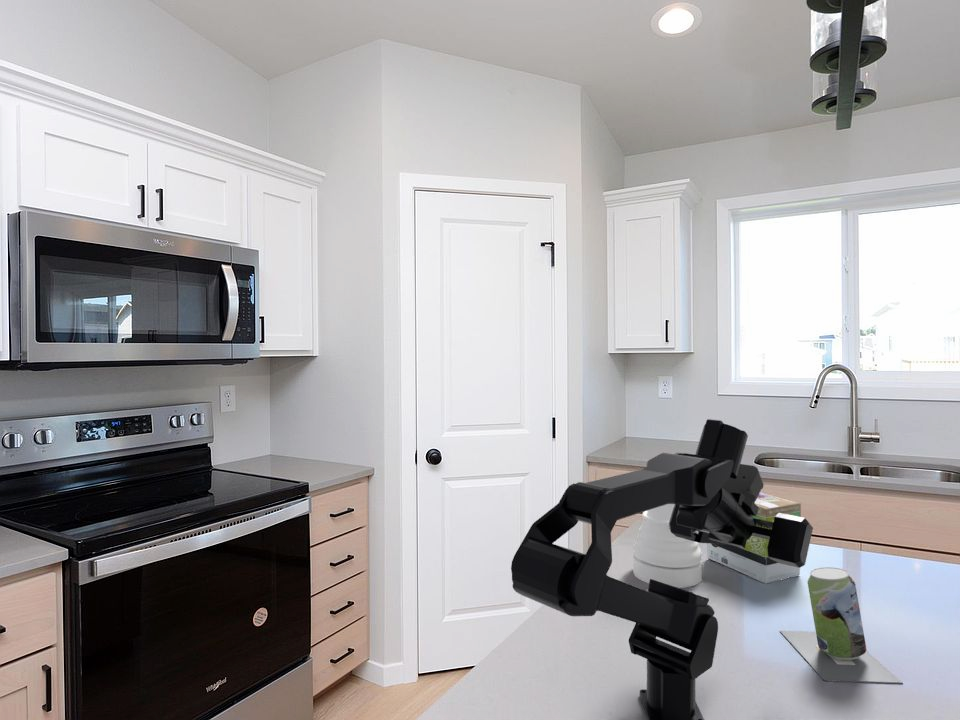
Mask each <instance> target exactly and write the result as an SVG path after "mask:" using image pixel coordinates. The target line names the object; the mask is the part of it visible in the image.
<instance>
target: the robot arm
mask: <svg viewBox="0 0 960 720" xmlns="http://www.w3.org/2000/svg"><path fill="white" fill-rule="evenodd" d="M748 437H749V435H748V433H747V432H746V431H745V430H741V429H740V428H737V427H736V426H733V425H731V424H726V423H724V422H723V421H722V420H720V419H712V418H711V419H710V418H707V419H706V421H705V424H704V425H703V428H702V431H701V435H700V438H699V441H698V445H697V449H696V451H695V454H692V453H686V452H676V453H669V452H662V453H660V454H657V455H656V456H654V457H652V458H650V459H649V460H647V462H646V467H644V468H642V469H638V470H634V471H630V472H626V473H622V474H617V475H614V476H613V475H612V476H610V477H609V476H608V477H605V478H602V479H601V478H600V479H596V480H591V481H587V482H582V481H578V482H576V483H571V484H570V485H568V487H567V488H566V489H565V491H564V493H563V494H562V496H561V498H560V500H559V502H558V503H557V504H556V505H554V506H553V507H552V508H550V510H548V511H547V512H546V513H544V514H543V515H542V516H541V517H539V518H538V519H537V520H536V521H534V522H533V523H532V525H530V527H529V529H528V531H527V533H526V534H525V536H524V538H523V540H522V542H521V543H520V545H519V547H518V549H517V550H516V552H515V554H514V556H513V558H512V560H511V567H510V569H511V570H510V571H511V580H512V581H511V582H512V589H513V590H514V591H515V592H516V593H517V594H519V595H520V596H523V597H525V598H528V599H530V600H532V601H535V602H537V603H539V604H541V605H543V606H546V607H549V608H551V609H553V610H556V611H558V612H560V613H562V614H565V615H567V616H569V617H593V616H594V615H596V613H597V612H602V613H604V614H608V615H611V616H615V617H617V618H620V619H623V620H627V621H629V622H632V623H635V624H634V627H633V629H632V630H631V633H630V636H629V638H628V645H629V649H630V653H631V654H633V655H636V656H638V657H639V656H640V657H641V658H644V659H646V689H640V690H639V697H640V701H641V704H642V705H643V709H644V712H645V716H646V719H647V720H705V718H704V716H703V714H702V712H701V710H700V708H699V705H698V704H697V701H696V679H697V678H698V677H700V676H701V675H703V674H704V673H705V672H706V671H708V670H709V669H711V668H712V667H713V664H714V658H715V650H716V646H717V645H716V644H717V638H718V633H719V622H718V619H717V618H716V616H714V615H715V613H716V611H715V610H714V608H713V607H712V606H711V605H710V604H708V603H709V601H710V598H708V597H706V596H705V597H704V596H702V595H698V594H696V593H694V592H692V591H689V590H687V589H683V588H677V587H674V586H671V585H668V584H665V583H662V582H659V581H656V580H652V579H650V582H649V583H648V588H647V589H646V590H644V589H642V588H639V587H637V586H634V585H632V584H630V583H629V584H628V583H626V582H625V581H624V582H623V581H621V580H619V579H616V578H614V577H611V576H608V571H609V570H610V569H611V566H612V563H613V549H612V535H611V534H612V530H614V527H615V526H616V523H617V521H620V520H622V519H626V518H629V517H632V516H635V515H638V514H641V513H643V512H645V511H648V510H651V509H654V508H657V507H660V506H663V505H666V504H674V508H673V511H672V514H671V517H670V521H669V529H670V531H671V533H672V534H674V535H675V536H676V537H680V538H684V539H687V540H691V541H695V542H698V544H707V543H711V544H729V545H733V546H737V547H741V548H745V545H746V541H747V540H748V539H749V538H750V537H751V536H756V537H760V538H765V539H769V543H768V547H767V550H768V557H769V558H770V559H772V561H773V562H777V563H781V564H785V565H789V566H794V567H798V568H800V569H801V568H803V566H805V565H806V563H807V557H808V552H809V548H810V544H811V539H812V535H813V530H814V527H813V525H812V524H811V523H810V522H809V521H808V520H807V519H806V517H802V516H801V517H798V516H793V515H788V514H782V513H778V514H777V515H776V516H775V518H774V522H770V521H765V520H760V519H755V518H753V515H754V516H757V513H758V509H759V507H758V506H757V505H756V504H755V501H756V499H757V497H758V495H759V493H760V492H762V490H763V488H764V485H765V484H764V481H763V479H762V477H761V476H762V475H761V473H760V471H759V468H758V467H757V466H755V465H752V464H751V465H750V464H742V459H743V456H744V451H745V449H746V445H747V441H748ZM579 522H582V523H586V524H588V525H589V524H590V525H591V527H590V529H591V531H590V532H591V543H590V545H589V547H588V549H587V550H586V553H583V552H580V551H577V550H573V549H571V548H570V549H569V548H567V547H563V546H560V545H558V544H554V543H555V542H556V541H558V540H559V539H560V538H561V537H563V536H564V535H565V534H566V533H569V531H571V530H572V529H573V528H574V527H575V526H576V525H577V524H578V523H579ZM754 525H755V526H754ZM759 526H760V527H759ZM762 527H763V528H762ZM765 527H766V528H765ZM768 528H769V529H768ZM771 528H772V530H771ZM661 639H662V640H661ZM663 640H664V641H663ZM667 642H668V643H667ZM670 643H671V644H670ZM673 644H674V645H673ZM675 645H676V646H675ZM677 646H679V647H677ZM680 647H682V648H680ZM683 648H684V649H683ZM685 649H686V650H685ZM687 650H688V651H687Z"/></svg>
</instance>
